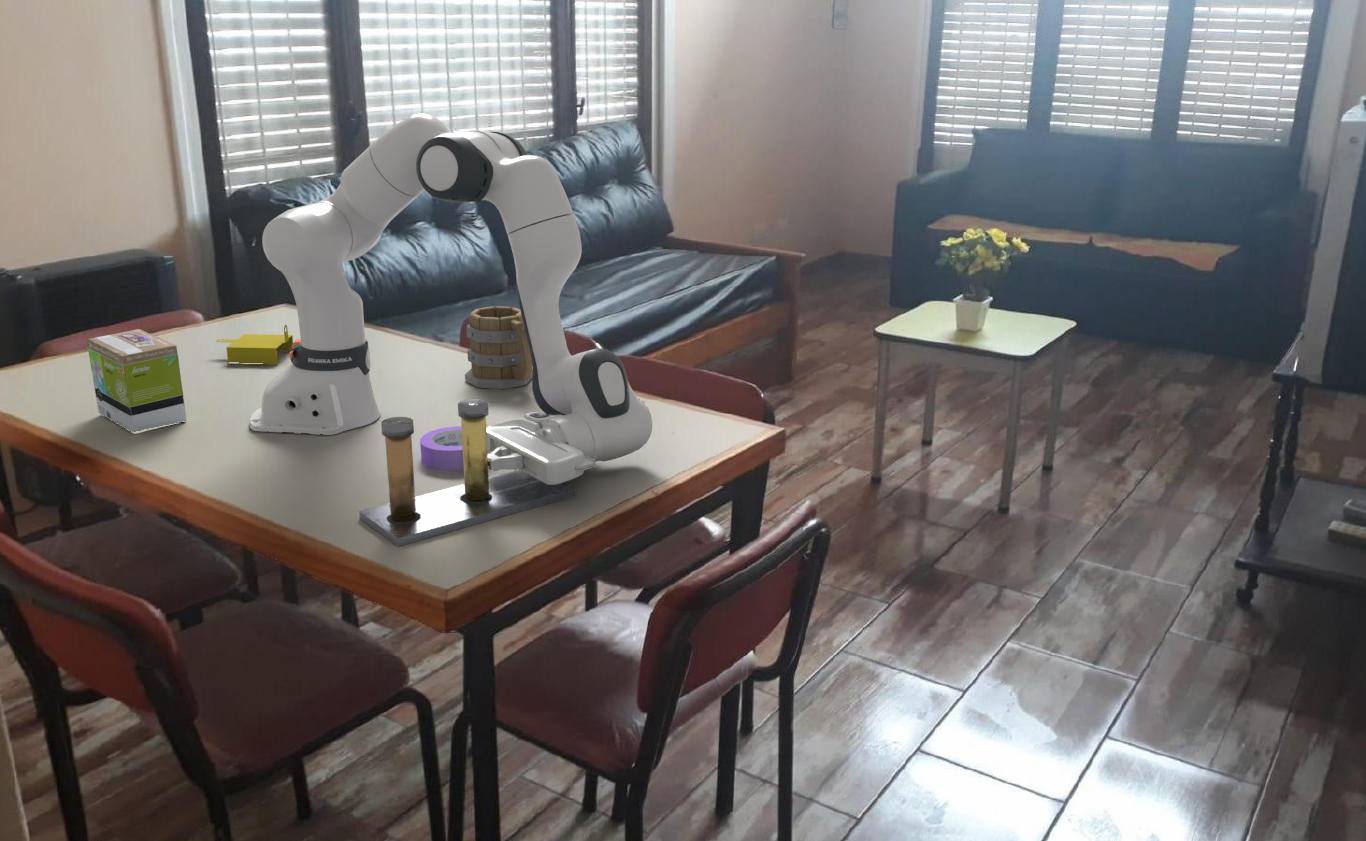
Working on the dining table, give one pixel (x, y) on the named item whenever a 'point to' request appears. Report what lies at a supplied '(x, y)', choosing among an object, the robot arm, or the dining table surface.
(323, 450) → the dining table surface
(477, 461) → the pin
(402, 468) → the fixed pin
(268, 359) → the bracket
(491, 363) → the tankard
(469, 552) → the dining table surface
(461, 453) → the masking tape
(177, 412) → the tea box
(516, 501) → the plate
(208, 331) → the dining table surface
